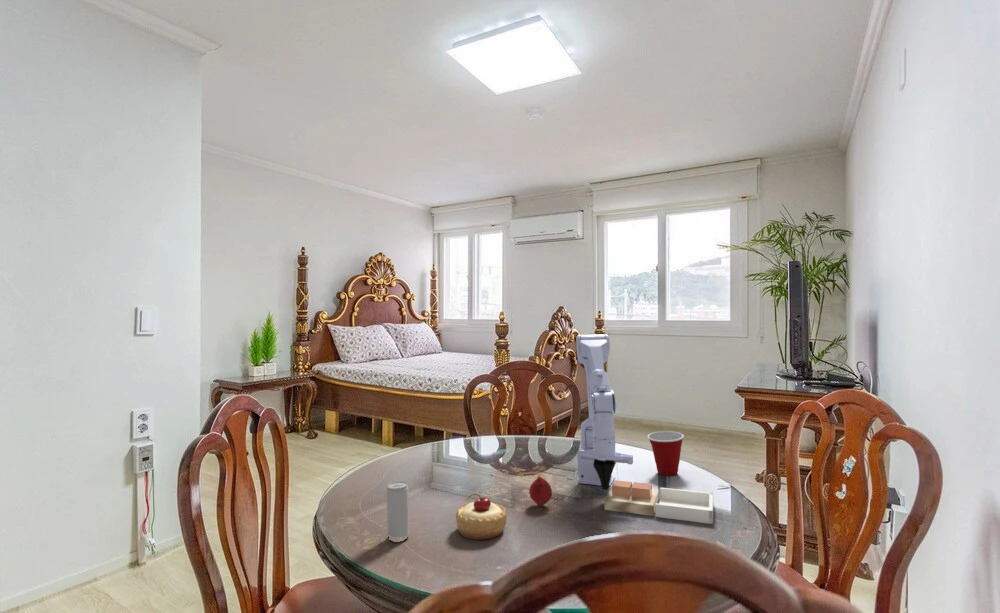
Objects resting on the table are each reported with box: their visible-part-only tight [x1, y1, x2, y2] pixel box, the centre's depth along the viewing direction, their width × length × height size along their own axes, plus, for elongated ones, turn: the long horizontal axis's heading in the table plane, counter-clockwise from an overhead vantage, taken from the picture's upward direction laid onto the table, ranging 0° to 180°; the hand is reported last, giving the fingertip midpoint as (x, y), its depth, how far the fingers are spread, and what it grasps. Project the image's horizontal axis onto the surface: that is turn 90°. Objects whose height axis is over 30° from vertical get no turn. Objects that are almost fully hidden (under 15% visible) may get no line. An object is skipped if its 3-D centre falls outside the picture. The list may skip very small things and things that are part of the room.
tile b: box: [632, 482, 653, 500], centre depth 125 cm, size 4×4×2 cm
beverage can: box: [386, 481, 410, 538], centre depth 110 cm, size 5×5×12 cm
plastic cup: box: [647, 430, 685, 477], centre depth 150 cm, size 11×11×12 cm
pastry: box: [455, 493, 508, 541], centre depth 112 cm, size 12×12×9 cm
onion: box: [528, 474, 553, 507], centre depth 127 cm, size 6×6×8 cm
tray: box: [654, 487, 714, 525], centre depth 121 cm, size 13×13×3 cm
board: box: [603, 487, 660, 517], centre depth 126 cm, size 12×12×2 cm
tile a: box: [611, 479, 633, 497], centre depth 127 cm, size 4×4×2 cm
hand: (605, 488), depth 129 cm, fingers closed
